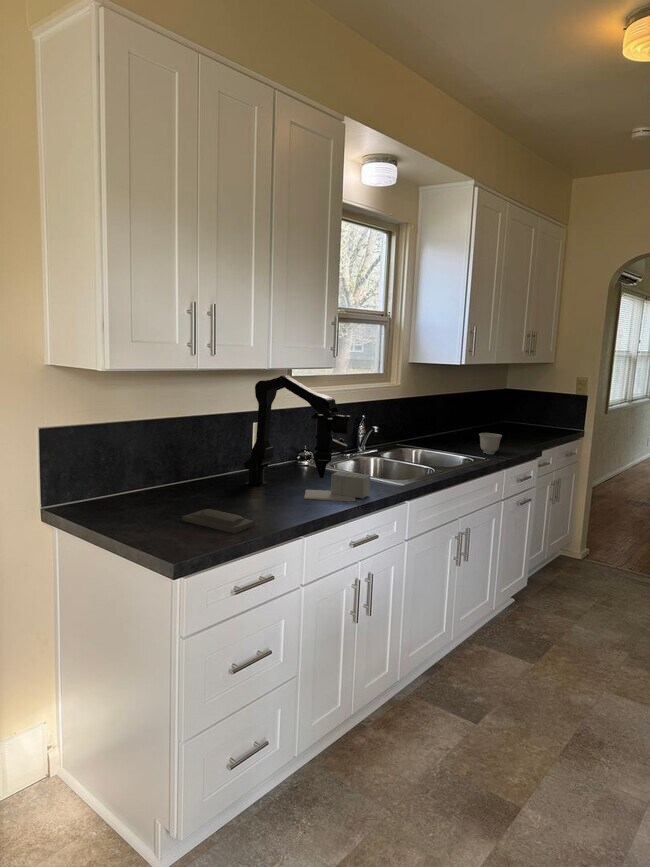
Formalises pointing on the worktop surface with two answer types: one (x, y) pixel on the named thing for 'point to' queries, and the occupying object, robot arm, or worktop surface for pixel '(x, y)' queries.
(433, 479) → the worktop surface
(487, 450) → the teacup
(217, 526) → the soap mold
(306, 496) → the grey mat
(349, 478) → the supplement box
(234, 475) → the worktop surface
